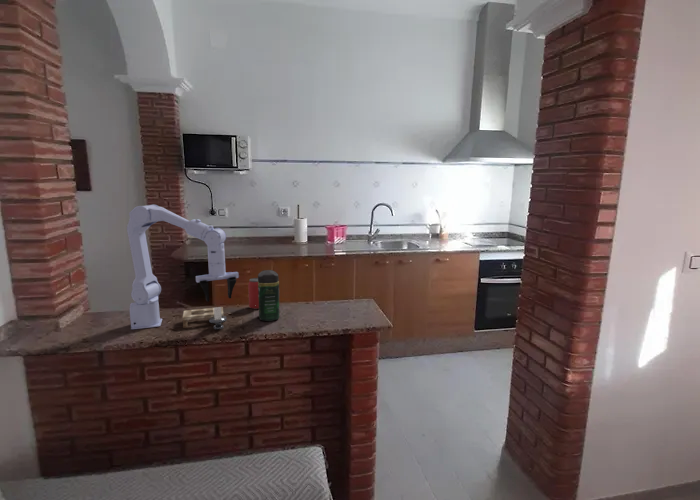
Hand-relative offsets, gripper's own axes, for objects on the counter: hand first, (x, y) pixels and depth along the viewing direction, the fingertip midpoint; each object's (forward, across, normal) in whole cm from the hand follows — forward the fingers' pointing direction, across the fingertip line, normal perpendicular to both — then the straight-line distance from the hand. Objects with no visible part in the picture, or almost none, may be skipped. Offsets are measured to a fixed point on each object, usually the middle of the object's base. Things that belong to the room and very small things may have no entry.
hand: (218, 299), depth 141 cm
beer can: (+10, +18, +15) cm, 26 cm away
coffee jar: (+10, +19, 0) cm, 21 cm away
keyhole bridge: (+10, -5, +7) cm, 13 cm away
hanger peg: (+10, -1, -2) cm, 10 cm away
